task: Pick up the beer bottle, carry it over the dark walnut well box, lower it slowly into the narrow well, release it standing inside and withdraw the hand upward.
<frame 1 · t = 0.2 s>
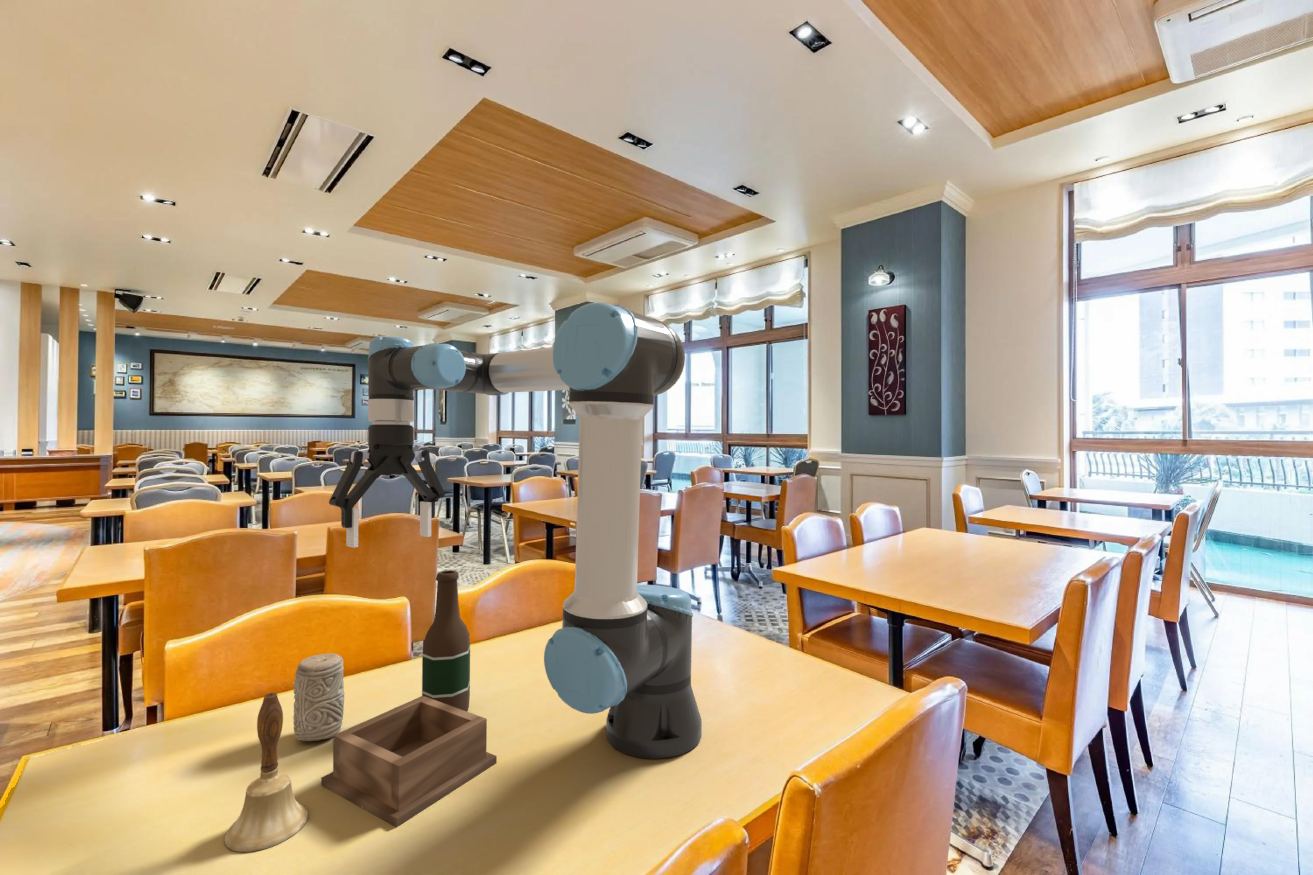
hand: (390, 541, 105), 28 cm above the table, fingers open, 13 cm apart
well: (411, 773, 80), on the table
carving: (319, 736, 90), on the table
beer bottle: (446, 715, 97), on the table
hand bell: (267, 829, 69), on the table
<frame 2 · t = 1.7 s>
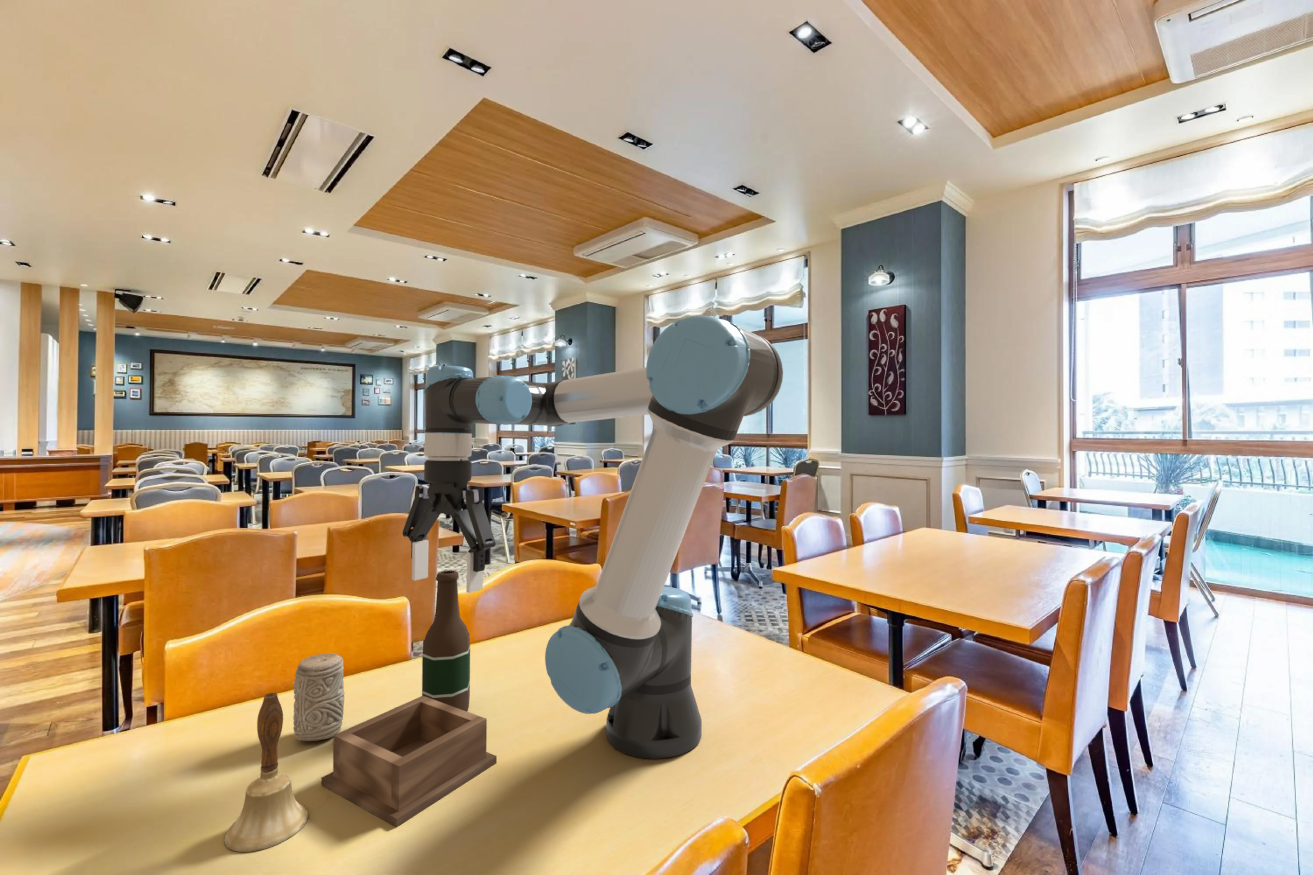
hand: (446, 584, 97), 22 cm above the table, fingers open, 13 cm apart
nothing on the table moved.
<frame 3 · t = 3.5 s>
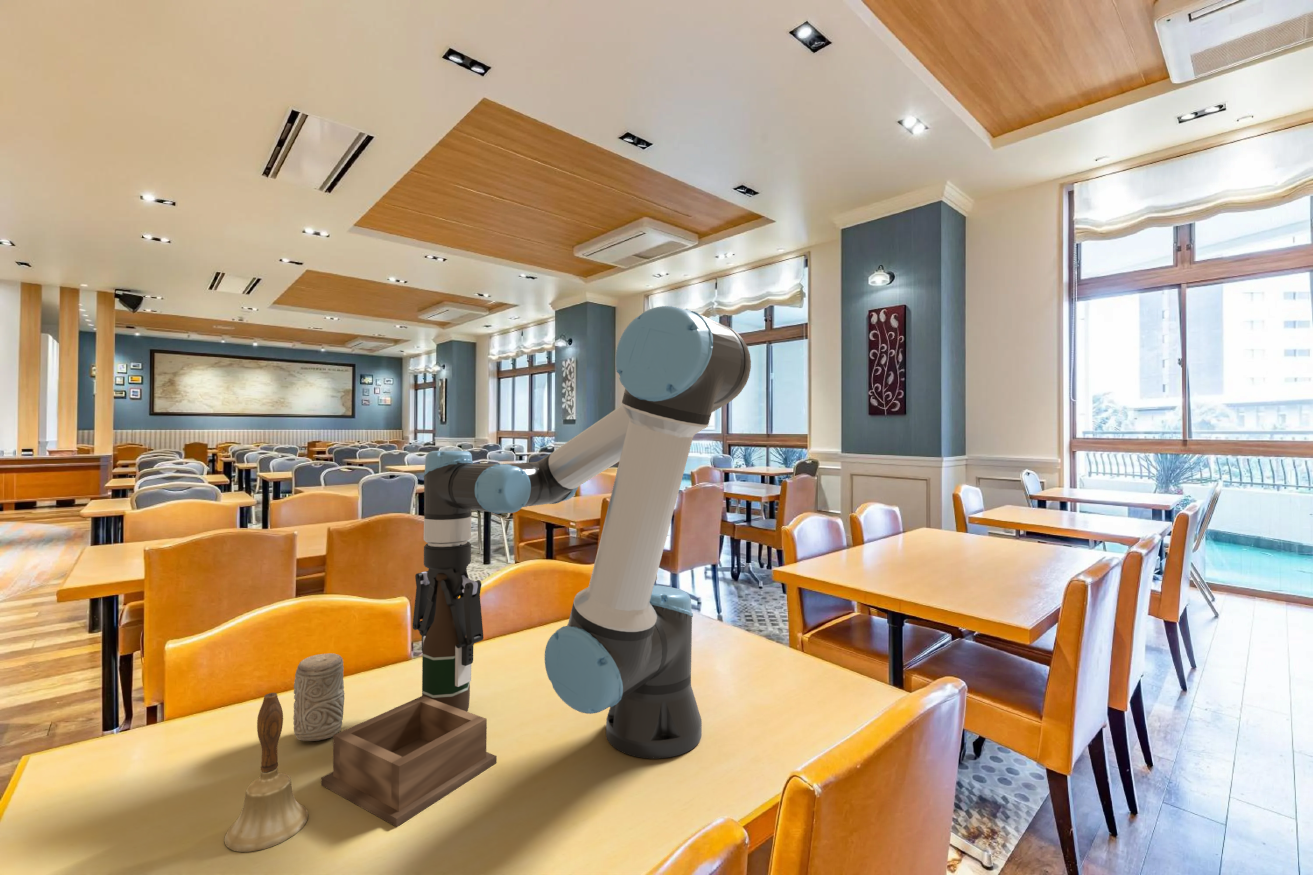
hand: (446, 677, 97), 6 cm above the table, fingers closed on beer bottle, 7 cm apart
beer bottle: (446, 715, 97), on the table, touching gripper
everything else where it was.
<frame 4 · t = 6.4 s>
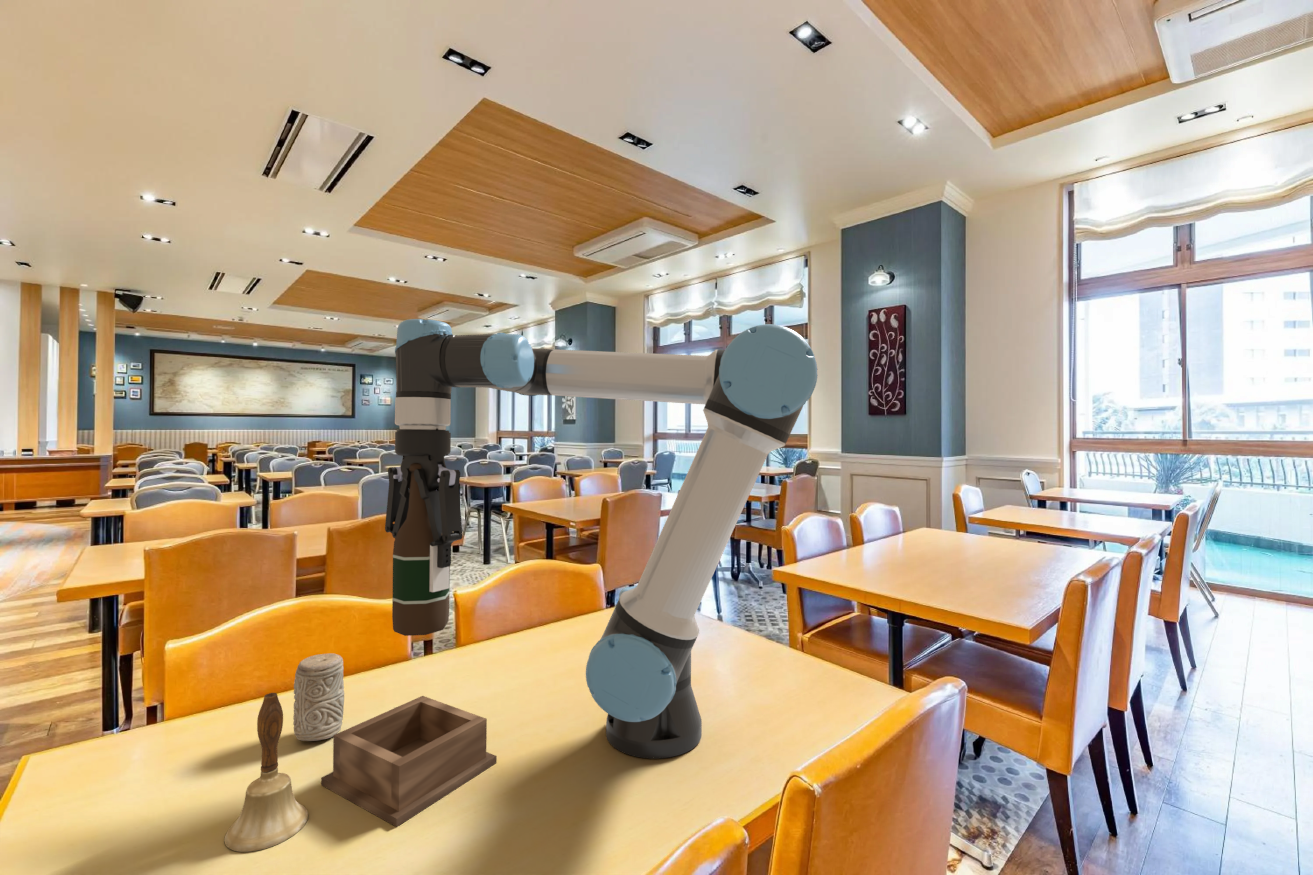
hand: (421, 585, 84), 25 cm above the table, fingers closed on beer bottle, 7 cm apart
beer bottle: (421, 628, 84), point 19 cm above the table, touching gripper
everything else where it was.
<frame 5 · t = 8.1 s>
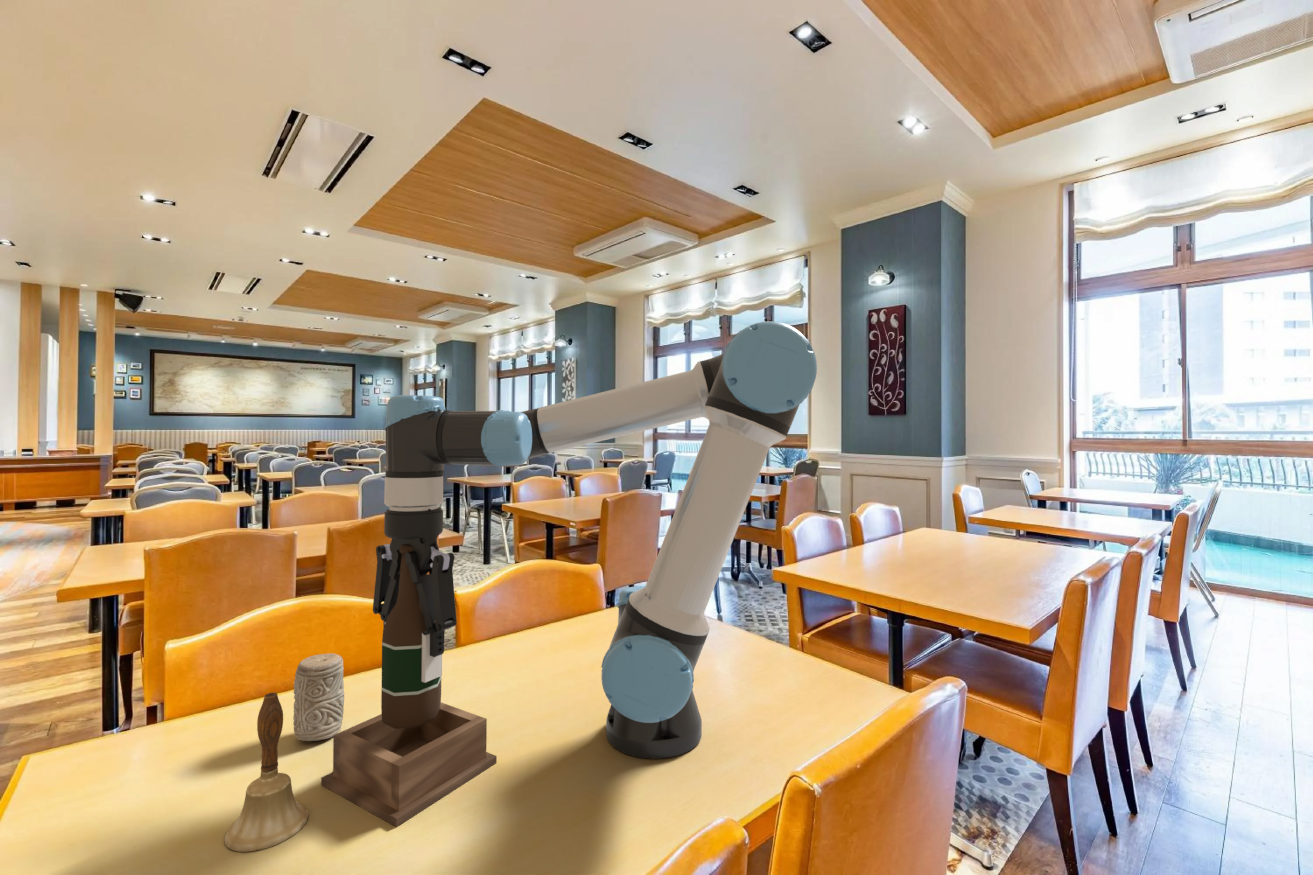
hand: (412, 671, 80), 14 cm above the table, fingers closed on beer bottle, 7 cm apart
beer bottle: (411, 717, 80), point 8 cm above the table, touching gripper
everything else where it was.
when the fingers open (9 cm above the table, at t = 9.6 s): beer bottle drops 1 cm, resting on well.
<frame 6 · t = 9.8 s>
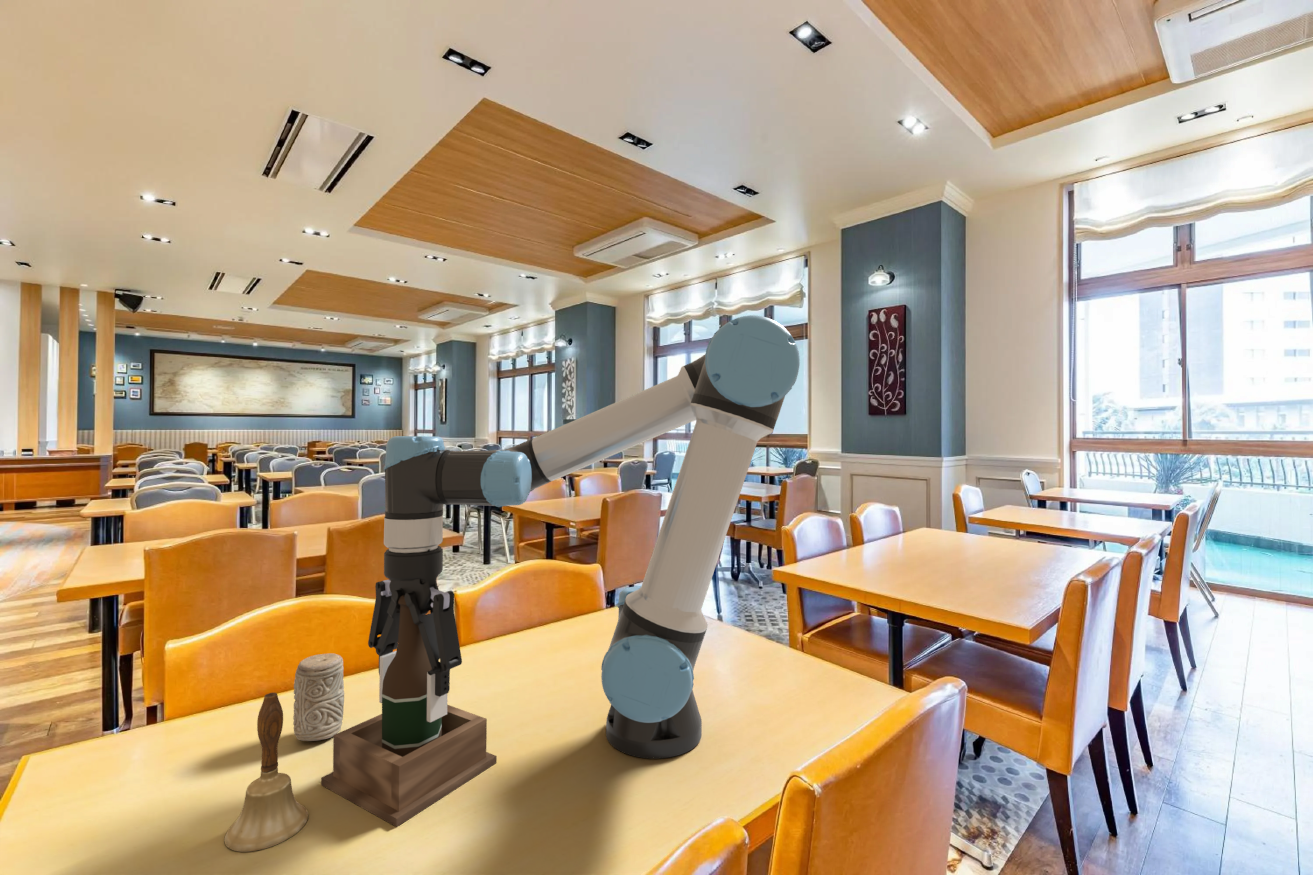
hand: (412, 708, 80), 9 cm above the table, fingers open, 9 cm apart
beer bottle: (412, 767, 80), point 1 cm above the table, touching well
everything else where it was.
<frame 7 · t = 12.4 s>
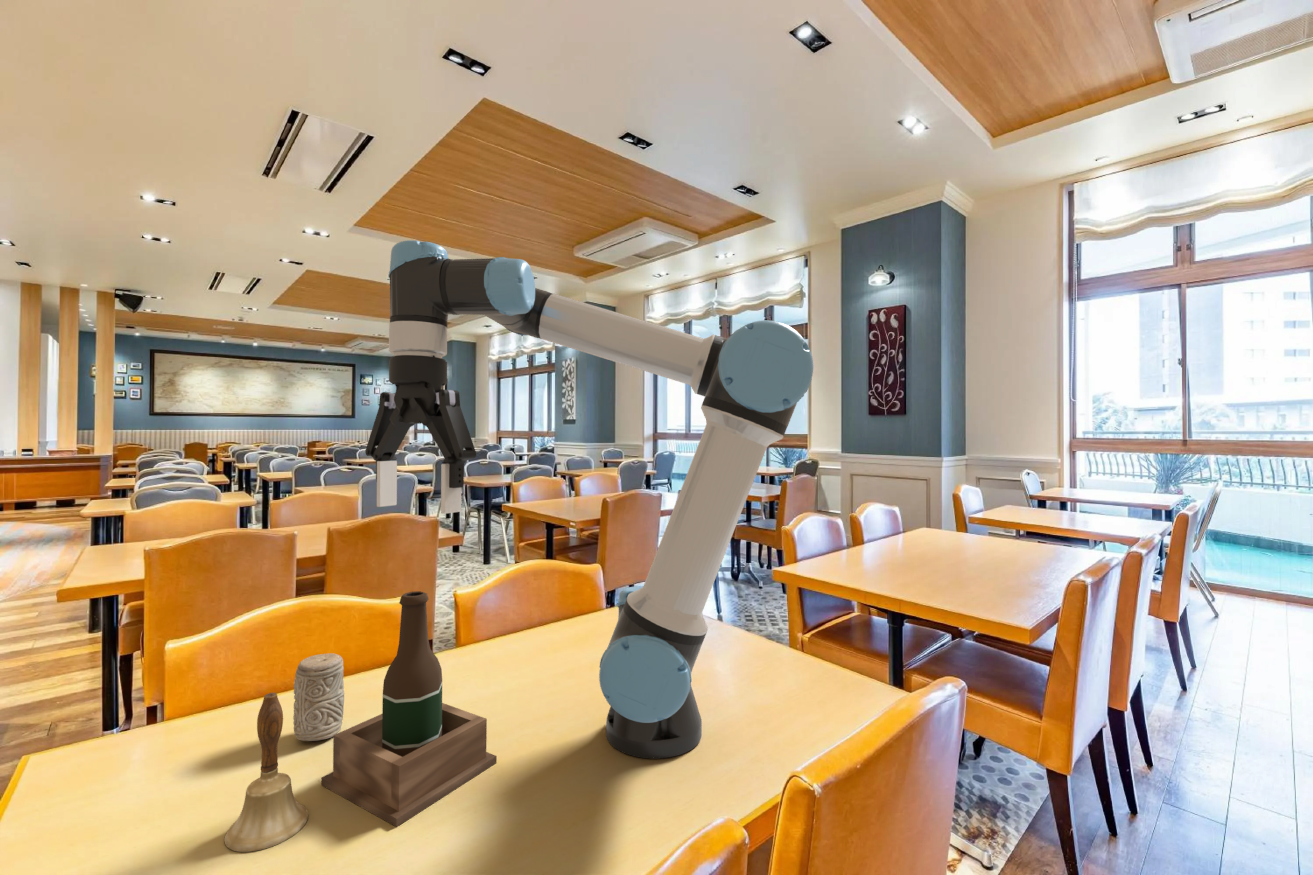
hand: (417, 509, 81), 37 cm above the table, fingers open, 13 cm apart
nothing on the table moved.
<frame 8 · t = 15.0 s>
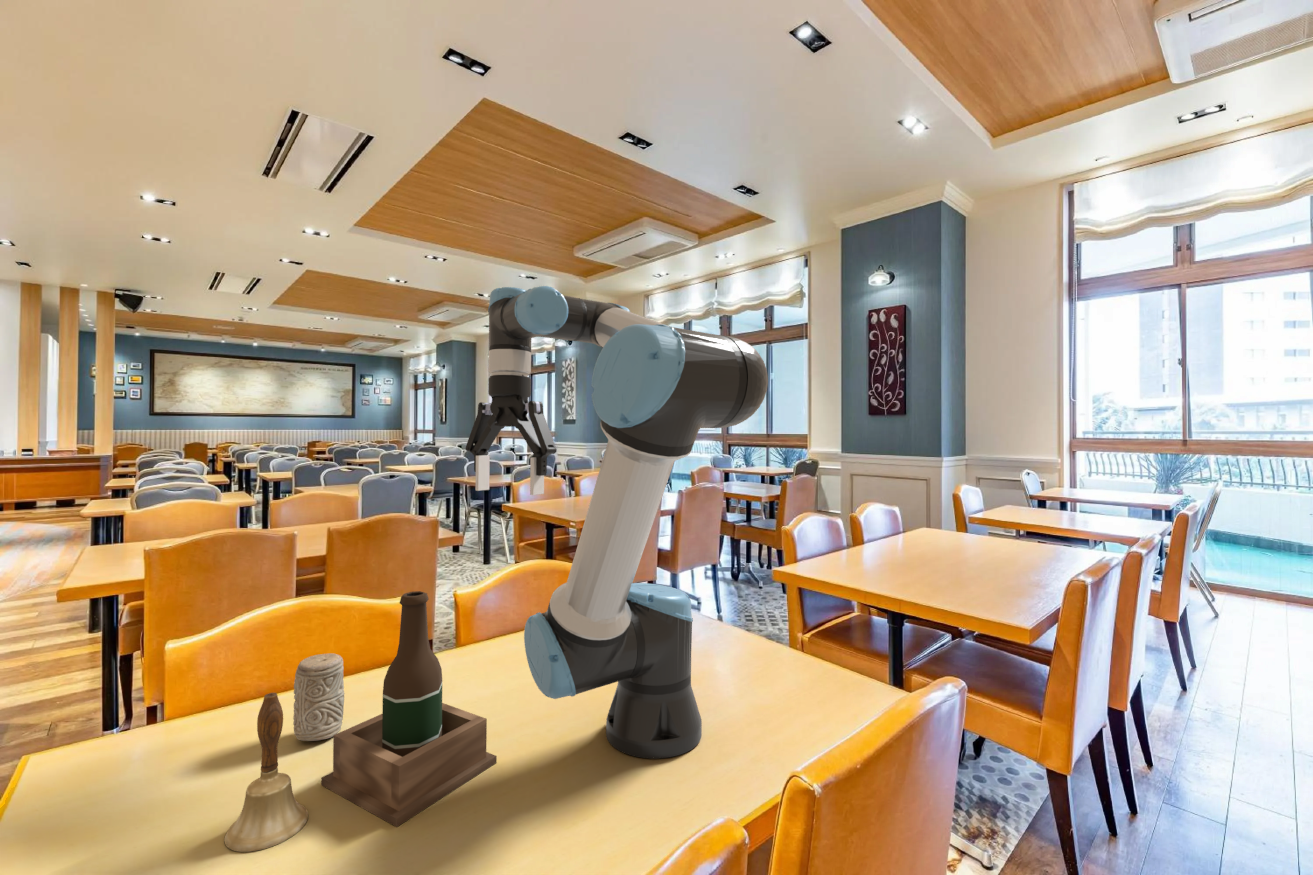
hand: (508, 492, 105), 37 cm above the table, fingers open, 13 cm apart
nothing on the table moved.
at the end: beer bottle inside the target area on the well (0.1 cm from its centre), point 0.8 cm above the well's base; beer bottle tilted 0°; the gripper is holding nothing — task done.
